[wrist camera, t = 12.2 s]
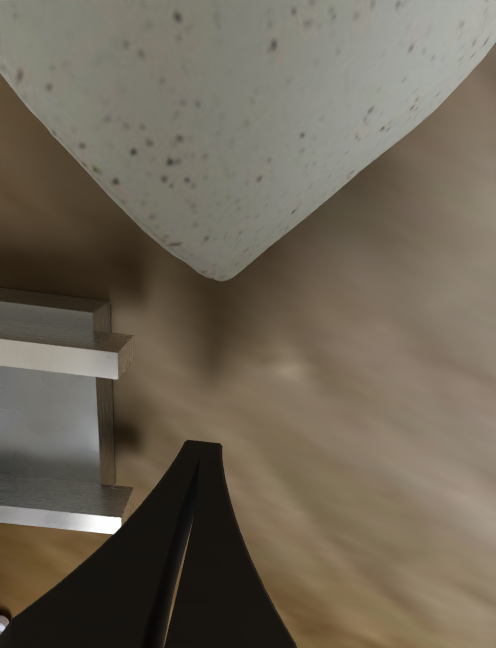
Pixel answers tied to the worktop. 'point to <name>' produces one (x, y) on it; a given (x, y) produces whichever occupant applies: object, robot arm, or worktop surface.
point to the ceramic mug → (234, 102)
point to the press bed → (60, 412)
